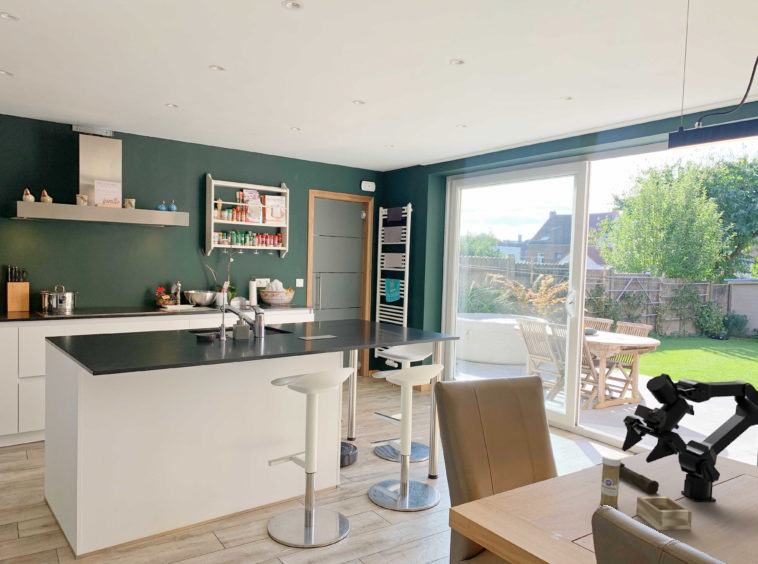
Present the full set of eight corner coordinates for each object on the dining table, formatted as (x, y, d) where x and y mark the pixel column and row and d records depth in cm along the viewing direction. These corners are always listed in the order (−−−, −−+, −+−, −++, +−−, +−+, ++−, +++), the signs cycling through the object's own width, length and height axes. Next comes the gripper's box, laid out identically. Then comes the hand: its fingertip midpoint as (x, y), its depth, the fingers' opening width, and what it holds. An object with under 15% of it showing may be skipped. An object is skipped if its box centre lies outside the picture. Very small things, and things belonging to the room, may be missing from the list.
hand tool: (659, 494, 160) (660, 478, 160) (648, 495, 159) (649, 479, 159) (615, 470, 179) (615, 456, 179) (604, 471, 178) (605, 457, 178)
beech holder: (667, 513, 147) (668, 496, 147) (690, 529, 138) (692, 511, 138) (636, 513, 146) (637, 497, 146) (658, 529, 137) (659, 512, 137)
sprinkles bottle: (600, 506, 149) (602, 457, 149) (600, 500, 154) (602, 452, 153) (618, 510, 148) (621, 460, 147) (617, 503, 152) (620, 455, 152)
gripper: (630, 388, 162) (596, 426, 160) (680, 403, 145) (643, 447, 142) (650, 413, 165) (617, 452, 162) (702, 432, 147) (666, 475, 144)
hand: (634, 455), depth 152 cm, fingers open, 9 cm apart
